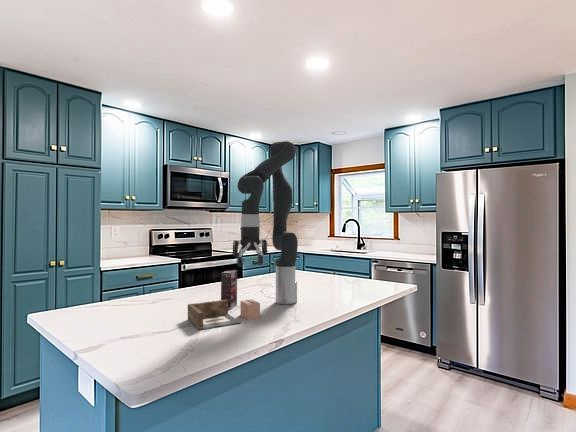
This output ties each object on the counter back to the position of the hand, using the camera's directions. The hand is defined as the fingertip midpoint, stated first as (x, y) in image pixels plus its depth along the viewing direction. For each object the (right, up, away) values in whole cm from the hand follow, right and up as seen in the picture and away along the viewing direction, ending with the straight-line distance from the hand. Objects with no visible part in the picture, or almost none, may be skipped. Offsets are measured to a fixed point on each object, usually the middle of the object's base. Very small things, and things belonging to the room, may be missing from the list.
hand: (250, 265), depth 145 cm
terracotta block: (0, -21, 0) cm, 21 cm away
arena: (-13, -20, -7) cm, 25 cm away
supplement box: (-11, -21, +15) cm, 27 cm away
